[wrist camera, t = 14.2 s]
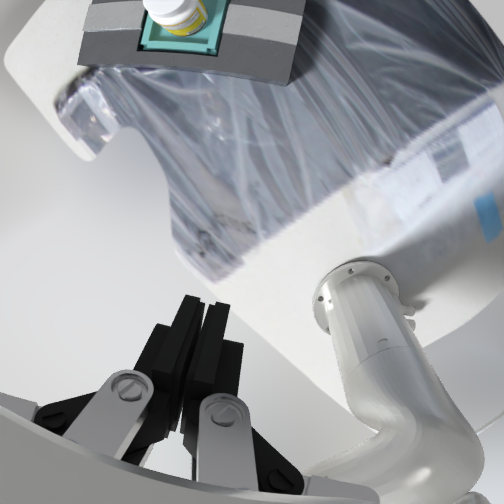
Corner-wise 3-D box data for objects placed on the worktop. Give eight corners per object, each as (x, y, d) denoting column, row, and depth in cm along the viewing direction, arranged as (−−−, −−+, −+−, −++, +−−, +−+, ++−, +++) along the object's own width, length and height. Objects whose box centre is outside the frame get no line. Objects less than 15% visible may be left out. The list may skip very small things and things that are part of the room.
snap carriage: (233, -4, 27) (230, -14, 24) (218, 57, 30) (214, 52, 27) (164, -8, 26) (156, -17, 24) (149, 52, 30) (139, 47, 27)
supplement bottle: (170, 0, 26) (145, -27, 18) (212, 1, 26) (197, -28, 18) (162, 37, 28) (133, 18, 20) (204, 39, 28) (186, 18, 20)
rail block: (304, -3, 27) (309, -16, 23) (285, 86, 32) (288, 82, 28) (113, -15, 26) (98, -25, 22) (93, 67, 31) (75, 64, 27)
